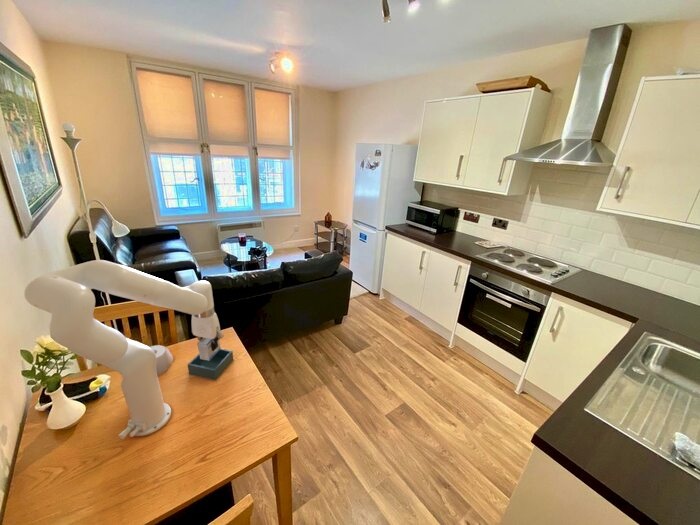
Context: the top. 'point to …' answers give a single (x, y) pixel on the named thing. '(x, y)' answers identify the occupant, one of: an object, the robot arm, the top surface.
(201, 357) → the medicine box
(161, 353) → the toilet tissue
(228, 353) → the tub
